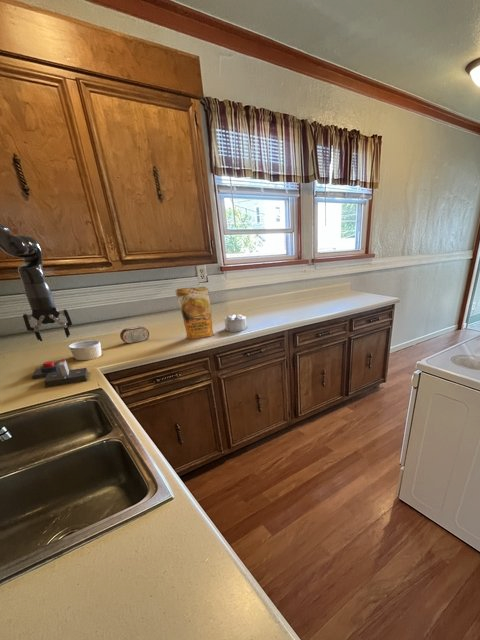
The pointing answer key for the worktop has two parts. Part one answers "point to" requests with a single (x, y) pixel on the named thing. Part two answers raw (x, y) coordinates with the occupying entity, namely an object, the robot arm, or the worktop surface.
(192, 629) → the worktop surface
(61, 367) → the grey rectangular block
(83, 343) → the ramekin
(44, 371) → the power switch
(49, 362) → the power button
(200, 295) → the pancake mix bag
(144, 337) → the tin
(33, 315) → the robot arm
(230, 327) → the lumpy-topped squat cylinder
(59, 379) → the control panel
